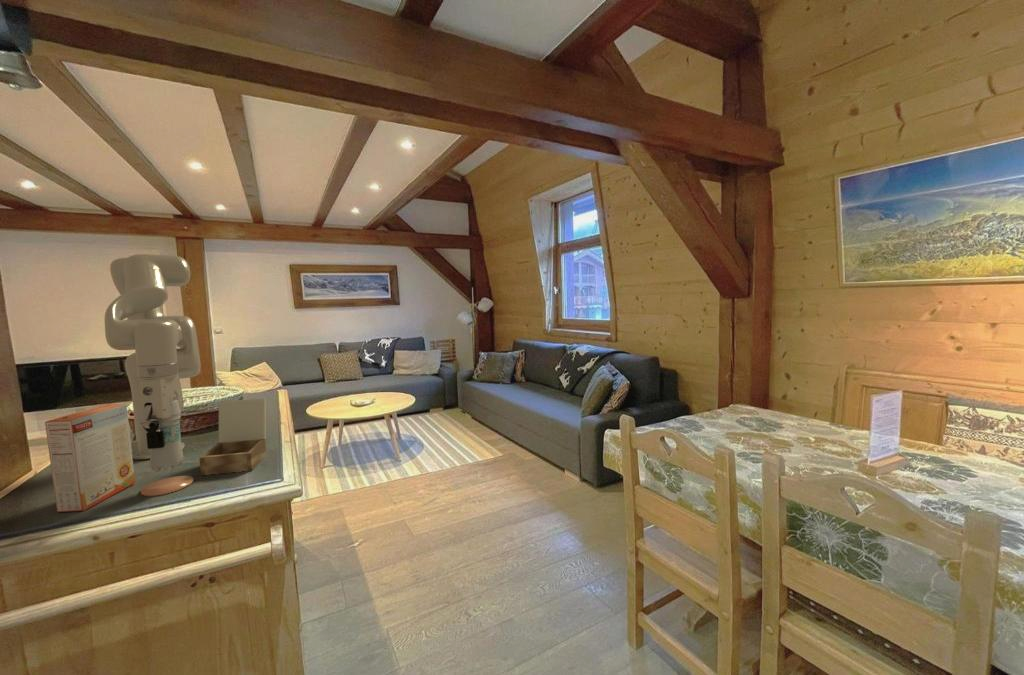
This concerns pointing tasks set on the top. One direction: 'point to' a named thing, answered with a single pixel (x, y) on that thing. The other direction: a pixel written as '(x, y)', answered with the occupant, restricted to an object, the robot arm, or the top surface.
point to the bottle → (168, 442)
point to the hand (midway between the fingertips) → (164, 442)
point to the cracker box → (90, 456)
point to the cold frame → (233, 457)
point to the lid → (241, 420)
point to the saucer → (166, 485)
